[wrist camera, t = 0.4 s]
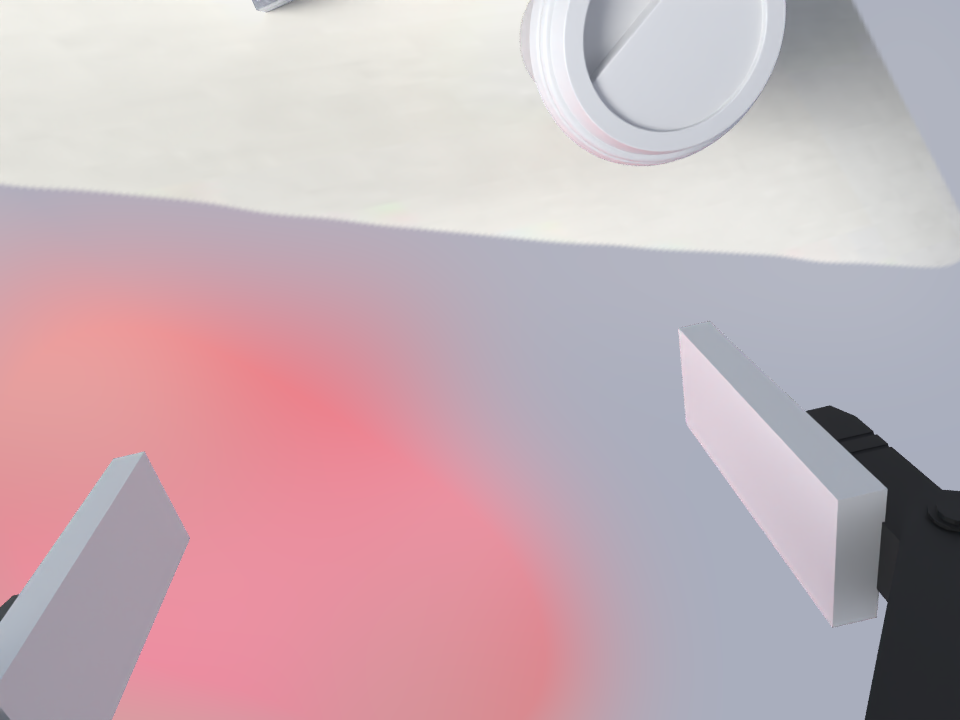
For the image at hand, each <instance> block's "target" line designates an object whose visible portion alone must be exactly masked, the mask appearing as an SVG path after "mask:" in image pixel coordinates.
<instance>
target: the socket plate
mask: <svg viewBox="0 0 960 720" xmlns="http://www.w3.org/2000/svg"><path fill="white" fill-rule="evenodd" d="M252 1H253V3H254V5H255V8H256V10H258V11H263V12H268V11H271V10H273V9H275V8H278V7H280V6H282V5H284V4H287V3H289V2H291V1H293V0H252Z"/></svg>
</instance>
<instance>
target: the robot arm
mask: <svg viewBox="0 0 960 720" xmlns="http://www.w3.org/2000/svg"><path fill="white" fill-rule="evenodd" d="M678 330H679V342H680V354H681V367H682V378H683V392H684V404H685V417H686V424H687V426H688V427H689V428H690V430H691V431H692V433H693V434H694V435H695V437H696V438H697V440H698V441H699V442H700V444H701V445H702V447H703V448H704V449H705V451H706V452H707V454H708V455H709V456H710V458H711V459H712V460H713V462H714V463H715V465H716V466H717V468H718V469H719V470H720V472H721V473H722V474H723V476H724V477H725V479H726V480H727V481H728V483H729V484H730V486H731V487H732V488H733V490H734V491H735V492H736V494H737V495H738V497H739V498H740V500H741V501H742V502H743V504H744V505H745V507H746V508H747V509H748V511H749V512H750V513H751V515H752V516H753V518H754V519H755V520H756V522H757V523H758V525H759V526H760V527H761V529H762V530H763V532H764V533H765V534H766V536H767V537H768V539H769V540H770V541H771V543H772V544H773V546H774V547H775V548H776V550H777V551H778V552H779V554H780V555H781V557H782V558H783V559H784V561H785V562H786V564H787V565H788V566H789V568H790V569H791V571H792V572H793V573H794V575H795V576H796V578H797V579H798V580H799V582H800V583H801V585H802V586H803V587H804V589H805V590H806V591H807V593H808V594H809V596H810V597H811V598H812V600H813V601H814V603H815V604H816V605H817V607H818V608H819V610H820V611H821V612H822V614H823V615H824V616H825V618H826V619H827V621H828V622H829V623H830V625H831V626H832V627H837V626H842V625H846V624H850V623H855V622H859V621H863V620H868V619H872V618H876V617H877V608H878V596H879V592H880V593H881V595H882V596H883V597H884V598H885V599H886V601H887V602H888V604H887V609H886V614H885V619H884V624H883V629H882V634H881V640H880V645H879V650H878V655H877V660H876V665H875V670H874V675H873V680H872V685H871V691H870V695H869V701H868V706H867V711H866V716H865V720H960V491H951V490H942V489H940V488H939V487H938V486H937V485H936V484H935V483H933V482H932V481H931V480H930V479H929V478H928V477H926V476H925V475H924V474H923V473H922V472H920V471H919V470H918V469H917V468H916V467H915V466H913V465H912V464H911V463H910V462H909V461H908V460H906V459H905V458H904V457H903V456H902V455H900V454H899V453H898V452H897V451H896V450H895V449H893V448H892V447H889V446H888V443H886V442H885V441H884V440H883V439H882V438H881V437H879V436H878V435H874V433H873V431H872V430H871V429H870V428H869V427H868V426H866V425H865V424H864V423H863V422H862V421H860V420H859V419H858V418H857V417H855V416H854V415H851V414H849V413H847V412H844V411H842V410H839V409H837V408H835V407H832V406H826V407H821V408H817V409H813V410H808V411H805V410H804V409H802V408H801V407H800V406H799V405H798V404H797V403H796V402H795V401H794V400H793V399H792V398H791V397H790V396H789V395H788V394H786V392H784V391H783V390H782V389H781V388H780V387H779V386H778V385H777V384H776V383H775V382H774V381H773V380H772V379H771V378H770V377H769V376H768V375H766V374H765V373H764V372H763V371H762V370H761V369H760V368H759V367H758V366H757V365H756V364H755V363H754V362H753V361H752V360H751V359H749V358H748V357H747V356H746V355H745V354H744V353H743V352H742V351H741V350H740V349H739V348H738V347H737V346H736V345H735V344H734V343H733V342H731V341H730V340H729V339H728V338H727V337H726V336H725V335H724V334H723V333H722V332H721V331H720V330H719V329H718V328H716V326H715V325H713V324H712V323H711V322H710V321H707V322H703V323H698V324H694V325H689V326H685V327H681V328H678ZM189 539H190V537H189V535H188V533H187V532H186V530H185V528H184V526H183V524H182V522H181V520H180V518H179V516H178V514H177V513H176V511H175V509H174V507H173V505H172V503H171V501H170V499H169V497H168V495H167V494H166V492H165V490H164V488H163V486H162V484H161V482H160V480H159V478H158V476H157V474H156V472H155V471H154V469H153V467H152V465H151V463H150V461H149V459H148V457H147V455H146V453H145V452H140V453H136V454H132V455H127V456H123V457H118V458H114V459H113V460H112V461H111V463H110V464H109V466H108V467H107V469H106V470H105V472H104V473H103V474H102V476H101V477H100V479H99V480H98V482H97V483H96V485H95V486H94V487H93V489H92V490H91V492H90V493H89V495H88V496H87V498H86V499H85V501H84V502H83V503H82V505H81V506H80V508H79V509H78V511H77V512H76V513H75V515H74V516H73V518H72V519H71V521H70V522H69V524H68V525H67V527H66V528H65V530H64V531H63V532H62V534H61V535H60V537H59V538H58V539H57V541H56V542H55V544H54V545H53V547H52V548H51V550H50V551H49V553H48V554H47V555H46V557H45V558H44V560H43V561H42V563H41V564H40V566H39V567H38V568H37V570H36V571H35V573H34V574H33V576H32V577H31V578H30V580H29V581H28V583H27V584H26V586H25V587H24V589H23V590H22V591H21V593H20V594H18V595H14V596H12V597H11V598H10V599H9V600H8V601H7V602H6V603H4V604H3V605H2V606H1V607H0V720H112V718H113V715H114V713H115V711H116V709H117V706H118V704H119V702H120V699H121V697H122V695H123V692H124V690H125V688H126V685H127V683H128V681H129V678H130V676H131V674H132V672H133V669H134V667H135V664H136V662H137V660H138V658H139V655H140V652H141V651H142V648H143V646H144V644H145V641H146V639H147V637H148V634H149V632H150V630H151V627H152V625H153V623H154V620H155V618H156V616H157V613H158V611H159V609H160V606H161V604H162V602H163V600H164V597H165V595H166V593H167V590H168V588H169V586H170V583H171V581H172V579H173V576H174V574H175V572H176V569H177V567H178V565H179V563H180V560H181V558H182V555H183V553H184V551H185V549H186V546H187V544H188V542H189Z"/></svg>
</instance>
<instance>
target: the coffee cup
mask: <svg viewBox="0 0 960 720" xmlns="http://www.w3.org/2000/svg"><path fill="white" fill-rule="evenodd" d="M785 22H786V0H530V1H529V3H528V5H527V7H526V10H525V12H524V15H523V18H522V22H521V27H520V51H521V56H522V59H523V62H524V65H525V67H526V69H527V71H528V73H529V75H530V76H531V78H532V79H533V81H534V82H535V83H536V85H537V88H538V91H539V94H540V96H541V98H542V101H543V103H544V105H545V107H546V108H547V110H548V112H549V114H550V115H551V117H552V118H553V120H554V121H555V122H556V124H557V125H558V126H559V127H560V129H561V130H562V131H563V132H564V133H565V134H566V135H567V136H568V137H569V138H570V139H571V140H572V141H573V142H575V143H576V144H577V145H579V146H580V147H581V148H583V149H584V150H586V151H588V152H589V153H591V154H593V155H595V156H597V157H599V158H602V159H604V160H607V161H610V162H614V163H618V164H623V165H631V166H651V165H659V164H664V163H668V162H672V161H675V160H679V159H682V158H685V157H687V156H690V155H692V154H694V153H697V152H699V151H701V150H702V149H704V148H706V147H708V146H709V145H711V144H712V143H714V142H715V141H717V140H718V139H719V138H721V137H722V136H723V135H725V134H726V133H727V132H728V131H729V130H730V129H731V128H733V127H734V126H735V125H736V124H737V123H738V122H739V121H740V120H741V119H742V117H743V116H744V115H745V114H746V113H747V112H748V110H749V109H750V108H751V107H752V105H753V104H754V102H755V101H756V100H757V98H758V97H759V95H760V93H761V92H762V90H763V88H764V87H765V85H766V83H767V81H768V79H769V77H770V75H771V73H772V71H773V69H774V67H775V64H776V61H777V59H778V56H779V53H780V49H781V45H782V41H783V36H784V30H785Z"/></svg>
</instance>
